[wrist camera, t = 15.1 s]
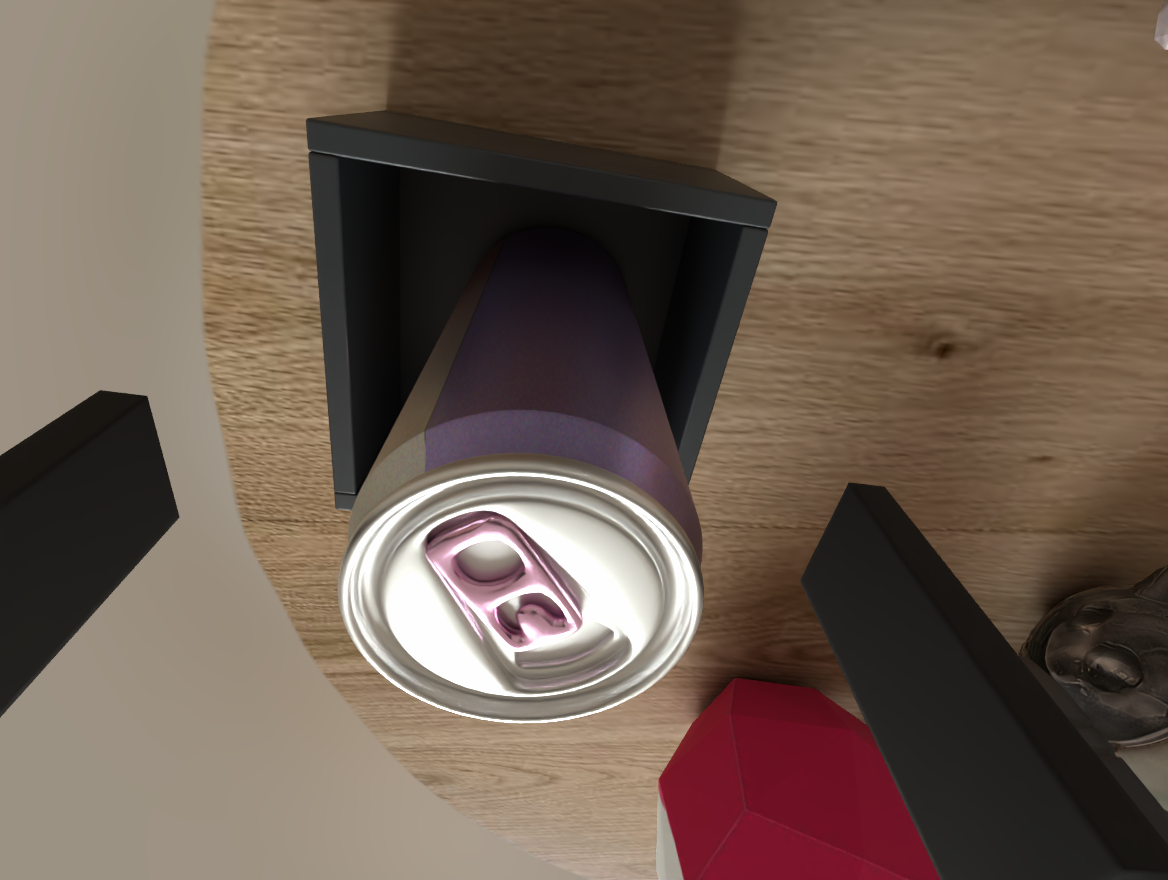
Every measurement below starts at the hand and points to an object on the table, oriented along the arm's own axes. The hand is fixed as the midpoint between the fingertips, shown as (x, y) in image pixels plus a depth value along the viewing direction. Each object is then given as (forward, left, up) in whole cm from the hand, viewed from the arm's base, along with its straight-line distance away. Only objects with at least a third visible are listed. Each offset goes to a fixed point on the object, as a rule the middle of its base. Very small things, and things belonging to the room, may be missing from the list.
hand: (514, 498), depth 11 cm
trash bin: (0, 0, -13) cm, 13 cm away
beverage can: (0, 0, -12) cm, 12 cm away
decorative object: (+25, +17, -13) cm, 33 cm away
